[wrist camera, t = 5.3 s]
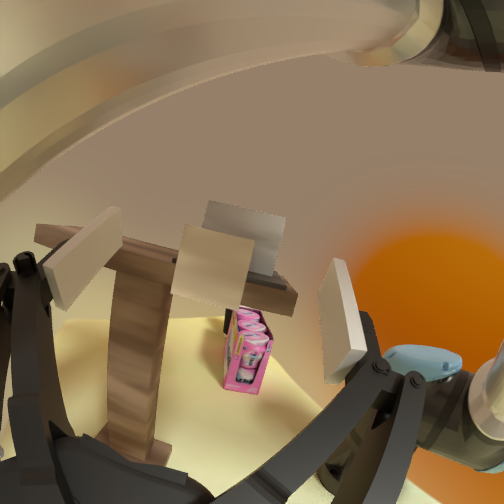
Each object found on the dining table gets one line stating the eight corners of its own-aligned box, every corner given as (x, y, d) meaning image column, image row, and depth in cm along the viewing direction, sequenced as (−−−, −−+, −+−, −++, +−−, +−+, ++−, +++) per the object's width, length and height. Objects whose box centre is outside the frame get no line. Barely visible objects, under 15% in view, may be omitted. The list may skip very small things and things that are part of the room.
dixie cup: (241, 343, 81) (250, 310, 81) (216, 337, 81) (224, 304, 81) (243, 335, 89) (251, 304, 89) (220, 329, 89) (227, 299, 89)
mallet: (205, 254, 33) (216, 207, 33) (268, 270, 33) (280, 222, 33) (120, 278, 11) (151, 148, 11) (295, 323, 11) (329, 186, 11)
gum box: (259, 398, 51) (276, 343, 50) (222, 393, 50) (236, 335, 50) (250, 353, 75) (261, 310, 74) (223, 348, 74) (233, 304, 73)
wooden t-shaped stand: (80, 388, 35) (91, 224, 34) (235, 441, 35) (283, 273, 34) (42, 420, 23) (37, 220, 22) (230, 495, 23) (299, 289, 22)
